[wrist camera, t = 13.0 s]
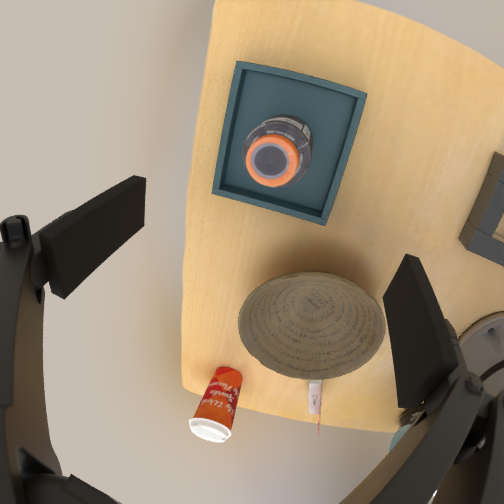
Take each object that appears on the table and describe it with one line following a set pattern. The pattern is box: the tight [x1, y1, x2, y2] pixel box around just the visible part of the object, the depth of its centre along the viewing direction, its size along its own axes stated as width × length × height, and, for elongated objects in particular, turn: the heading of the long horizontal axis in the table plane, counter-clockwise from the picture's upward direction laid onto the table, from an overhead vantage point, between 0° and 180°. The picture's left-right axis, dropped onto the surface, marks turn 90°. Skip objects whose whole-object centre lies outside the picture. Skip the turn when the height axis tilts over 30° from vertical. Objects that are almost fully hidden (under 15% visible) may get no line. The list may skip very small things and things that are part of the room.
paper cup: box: [189, 367, 242, 442], centre depth 50 cm, size 8×8×14 cm
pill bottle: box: [242, 115, 313, 188], centre depth 26 cm, size 6×6×11 cm
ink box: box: [309, 380, 322, 434], centre depth 47 cm, size 2×11×10 cm, turn 9°
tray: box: [212, 61, 367, 226], centre depth 31 cm, size 16×14×2 cm
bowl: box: [238, 272, 385, 380], centre depth 38 cm, size 18×18×8 cm
